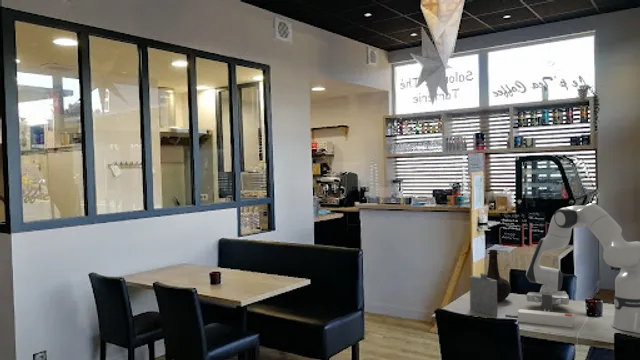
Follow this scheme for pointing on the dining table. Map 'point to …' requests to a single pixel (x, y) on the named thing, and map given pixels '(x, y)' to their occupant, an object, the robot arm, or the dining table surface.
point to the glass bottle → (497, 276)
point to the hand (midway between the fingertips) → (546, 301)
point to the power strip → (544, 317)
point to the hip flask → (483, 294)
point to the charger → (547, 302)
